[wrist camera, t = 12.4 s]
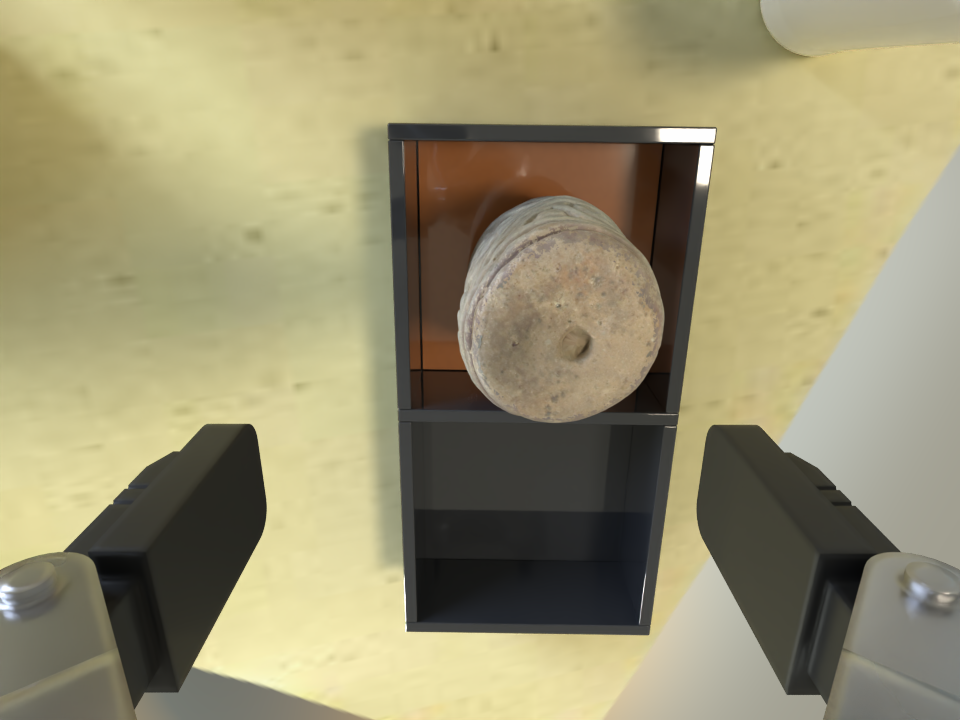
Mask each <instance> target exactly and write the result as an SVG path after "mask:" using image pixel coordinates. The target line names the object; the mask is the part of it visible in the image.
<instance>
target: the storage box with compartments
mask: <svg viewBox="0 0 960 720" xmlns="http://www.w3.org/2000/svg"><path fill="white" fill-rule="evenodd" d="M716 132H717V128H716V127H667V126H590V125H512V124H435V123H388V139H389V141H388V155H389V183H390V210H391V238H392V265H393V293H394V321H395V348H396V376H397V403H398V421H399V422H398V430H399V457H400V485H401V512H402V540H403V568H404V595H405V621H406V631H407V632H466V633H534V634H602V635H649V633H650V625H651V618H652V611H653V603H654V596H655V588H656V581H657V573H658V566H659V558H660V551H661V543H662V536H663V528H664V521H665V514H666V506H667V499H668V491H669V484H670V476H671V469H672V461H673V454H674V446H675V439H676V431H677V424H678V416H679V414H678V413H679V409H680V401H681V394H682V386H683V379H684V371H685V364H686V356H687V349H688V341H689V334H690V327H691V319H692V312H693V304H694V297H695V289H696V282H697V274H698V267H699V259H700V252H701V244H702V237H703V229H704V222H705V214H706V207H707V199H708V192H709V184H710V177H711V169H712V162H713V154H714V147H715V146H714V145H713V144H714V143H715V140H716ZM563 195H566V196H572V197H575V198H578V199H581V200H583V201H586V202H588V203H590V204H592V205H593V206H595V207H597V208H598V209H600V210H601V211H603V212H604V213H605V214H606V215H608V216H609V217H610V218H611V219H612V220H613V221H614V223H615V224H616V225H617V226H618V227H619V229H620V230H621V232H622V233H623V234H624V235H625V237H626V238H627V239H628V240H629V241H630V242H631V243H632V244H633V245H634V246H635V247H636V248H637V249H638V250H639V251H640V252H641V253H642V254H643V255H644V256H645V258H646V259H647V261H648V263H649V264H650V266H651V269H652V271H653V273H654V276H655V278H656V281H657V284H658V287H659V291H660V296H661V299H662V303H663V308H664V327H663V335H662V341H661V346H660V348H659V350H658V354H657V357H656V359H655V361H654V363H653V364H652V366H651V368H650V370H649V371H648V373H647V375H646V376H645V378H644V380H643V381H642V382H641V384H640V385H639V386H638V387H637V388H636V389H635V390H634V391H633V392H632V393H631V394H629V395H628V396H627V397H625V398H624V399H623V400H621V401H620V402H618V403H617V404H615V405H613V406H611V407H610V408H608V409H606V410H604V411H602V412H600V413H598V414H595V415H593V416H590V417H587V418H584V419H581V420H577V421H571V422H562V423H548V422H539V421H533V420H530V419H527V418H524V417H522V416H517V415H514V414H511V413H508V412H507V411H505V410H503V409H501V408H499V407H498V406H496V405H495V404H493V403H492V402H491V401H490V400H489V399H488V398H487V397H486V396H485V395H484V394H483V393H482V392H481V390H480V389H479V388H478V387H477V386H476V385H475V384H474V382H473V381H472V379H471V377H470V375H469V373H468V371H467V369H466V366H465V363H464V361H463V359H462V356H461V353H460V347H459V340H458V331H459V327H458V317H457V315H458V311H459V310H460V301H461V298H462V296H463V294H464V287H465V281H466V277H467V271H468V265H469V262H470V258H471V255H472V253H473V251H474V248H475V246H476V244H477V242H478V240H479V239H480V237H481V235H482V234H483V232H484V231H485V230H486V228H487V227H488V226H489V225H490V224H491V223H492V222H493V221H494V220H495V219H497V218H498V217H499V216H500V215H502V214H503V213H505V212H506V211H508V210H510V209H512V208H514V207H515V206H517V205H519V204H522V203H524V202H526V201H528V200H530V199H533V198H537V197H543V196H563Z"/></svg>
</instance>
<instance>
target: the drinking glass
mask: <svg viewBox="0 0 960 720" xmlns="http://www.w3.org/2000/svg"><path fill="white" fill-rule="evenodd" d="M760 8H761V13H762V17H763V20H764V23H765V25H766V27H767V29H768V31H769V33H770V34H771V36H772V37H773V38H774V39H775V40H776V42H778V43H779V44H780V45H781V46H782V47H784V48H785V49H787V50H789V51H791V52H793V53H796V54H799V55H803V56H812V57H817V56H826V55H832V54H836V53H840V52H845V51H856V50H868V49H881V48H895V47H910V46H926V45H941V44H957V43H960V0H760Z"/></svg>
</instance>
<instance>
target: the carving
mask: <svg viewBox="0 0 960 720" xmlns="http://www.w3.org/2000/svg"><path fill="white" fill-rule="evenodd" d="M457 317H458V327H459V331H458V340H459V347H460V353H461V356H462V359H463V361H464V363H465V366H466V369H467V371H468V373H469V375H470V377H471V379H472V381H473V382H474V384H475V385H476V386H477V387H478V388H479V389H480V390H481V392H482V393H483V394H484V395H485V396H486V397H487V398H488V399H489V400H490V401H491V402H492V403H493V404H495V405H496V406H498V407H499V408H501V409H503V410H505V411H507V412H508V413H511V414H514V415H517V416H522V417H524V418H527V419H530V420H533V421H539V422H548V423H562V422H571V421H577V420H581V419H584V418H587V417H590V416H593V415H595V414H598V413H600V412H602V411H604V410H606V409H608V408H610V407H611V406H613V405H615V404H617V403H618V402H620V401H621V400H623V399H624V398H625V397H627V396H628V395H629V394H631V393H632V392H633V391H634V390H635V389H636V388H637V387H638V386H639V385H640V384H641V382H642V381H643V380H644V378H645V376H646V375H647V373H648V371H649V370H650V368H651V366H652V364H653V363H654V361H655V359H656V357H657V354H658V350H659V348H660V346H661V341H662V335H663V327H664V308H663V303H662V299H661V296H660V291H659V287H658V284H657V281H656V278H655V276H654V273H653V271H652V269H651V266H650V264H649V263H648V261H647V259H646V258H645V256H644V255H643V254H642V253H641V252H640V251H639V250H638V249H637V248H636V247H635V246H634V245H633V244H632V243H631V242H630V241H629V240H628V239H627V238H626V237H625V235H624V234H623V233H622V232H621V230H620V229H619V227H618V226H617V225H616V224H615V223H614V221H613V220H612V219H611V218H610V217H609V216H608V215H606V214H605V213H604V212H603V211H601V210H600V209H598V208H597V207H595V206H593V205H592V204H590V203H588V202H586V201H583V200H581V199H578V198H575V197H572V196H566V195H563V196H543V197H537V198H533V199H530V200H528V201H526V202H524V203H522V204H519V205H517V206H515V207H514V208H512V209H510V210H508V211H506V212H505V213H503V214H502V215H500V216H499V217H498V218H497V219H495V220H494V221H493V222H492V223H491V224H490V225H489V226H488V227H487V228H486V230H485V231H484V232H483V234H482V235H481V237H480V239H479V240H478V242H477V244H476V246H475V248H474V251H473V253H472V255H471V258H470V262H469V265H468V271H467V277H466V281H465V287H464V294H463V296H462V298H461V301H460V310H459V311H458V315H457Z"/></svg>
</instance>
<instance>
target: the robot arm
mask: <svg viewBox="0 0 960 720" xmlns="http://www.w3.org/2000/svg"><path fill="white" fill-rule="evenodd" d="M128 486H129V487H128V489H124V490H123V491H122V492H121V493H120V494H119V495H118V496H117V497H116V498H115V499H114V500H113V501H114V503H113V504H110V505H109V506H108V507H107V508H106V509H105V510H104V511H103V512H102V513H101V514H100V515H99V516H98V517H97V518H96V519H95V520H94V521H93V522H92V523H91V524H90V525H89V526H88V527H87V528H86V529H85V530H84V531H83V532H82V533H81V534H80V535H79V536H78V537H77V538H76V539H75V540H74V541H73V542H72V543H71V544H70V545H69V546H68V547H67V548H66V549H65V550H64V551H63V552H57V553H49V554H44V555H39V556H35V557H32V558H28V559H25V560H22V561H19V562H17V563H14V564H12V565H10V566H7V567H5V568H3V569H1V570H0V720H137V718H136V715H135V711H134V709H135V708H136V706H137V704H138V702H139V701H140V699H141V698H142V696H143V694H144V692H179V690H180V688H181V686H182V684H183V682H184V680H185V679H186V677H187V675H188V673H189V671H190V669H191V667H192V665H193V664H194V662H195V660H196V658H197V656H198V654H199V652H200V650H201V649H202V647H203V645H204V643H205V641H206V639H207V637H208V635H209V634H210V632H211V630H212V628H213V626H214V624H215V622H216V620H217V619H218V617H219V615H220V613H221V611H222V609H223V607H224V605H225V604H226V602H227V600H228V598H229V596H230V594H231V592H232V590H233V589H234V587H235V585H236V583H237V581H238V579H239V577H240V575H241V574H242V572H243V570H244V568H245V566H246V564H247V562H248V560H249V559H250V557H251V555H252V553H253V551H254V549H255V547H256V545H257V544H258V542H259V540H260V538H261V536H262V533H263V530H264V526H265V521H266V511H267V505H266V495H265V488H264V481H263V474H262V467H261V460H260V453H259V446H258V439H257V434H256V431H255V429H254V427H253V426H252V425H251V424H206V425H204V426H203V427H202V428H201V429H200V430H199V431H198V432H197V434H196V435H195V436H194V437H193V438H192V439H191V440H190V441H189V442H188V443H187V444H186V445H185V447H184V448H183V449H182V450H181V451H180V452H172V453H170V454H168V455H167V456H165V457H163V458H161V459H160V460H158V461H156V462H154V463H153V464H151V465H149V466H147V467H146V468H145V469H144V470H143V471H142V472H141V473H140V474H139V475H138V476H137V477H136V478H135V479H134V480H133V481H132V482H131V483H130V484H129V485H128ZM697 520H698V526H699V530H700V533H701V536H702V538H703V540H704V542H705V544H706V546H707V548H708V550H709V552H710V553H711V555H712V557H713V559H714V561H715V563H716V564H717V566H718V568H719V570H720V572H721V574H722V576H723V577H724V579H725V581H726V583H727V585H728V587H729V589H730V590H731V592H732V594H733V596H734V598H735V600H736V601H737V603H738V605H739V607H740V609H741V611H742V613H743V614H744V616H745V618H746V620H747V622H748V624H749V626H750V627H751V629H752V631H753V633H754V635H755V637H756V638H757V640H758V642H759V644H760V646H761V648H762V650H763V651H764V653H765V655H766V657H767V659H768V661H769V663H770V664H771V666H772V668H773V670H774V672H775V674H776V675H777V677H778V679H779V681H780V683H781V685H782V687H783V688H784V690H785V692H786V694H787V695H821V696H822V698H823V699H824V701H825V703H826V704H827V707H826V711H825V715H824V718H823V720H960V570H959V569H957V568H955V567H953V566H950V565H948V564H946V563H943V562H940V561H938V560H935V559H932V558H928V557H925V556H921V555H916V554H911V553H903V552H900V551H899V550H898V549H897V548H896V547H895V546H894V545H893V544H892V543H891V542H890V541H889V540H888V539H887V538H886V537H885V536H884V535H883V534H882V532H881V531H880V530H879V529H877V527H876V526H875V525H874V524H873V523H872V522H871V521H870V520H869V519H868V518H867V517H866V516H865V515H864V514H863V513H862V512H861V511H860V510H859V509H858V508H857V507H856V506H852V505H851V501H850V500H849V499H848V498H847V497H846V496H845V495H844V494H843V493H842V492H841V491H840V490H836V486H835V485H834V484H833V483H832V482H831V481H830V480H829V479H828V478H827V477H826V476H825V475H824V474H823V473H822V472H821V471H820V470H819V469H818V468H817V467H815V466H813V465H811V464H810V463H808V462H806V461H804V460H803V459H801V458H799V457H797V456H795V455H794V454H792V453H784V452H783V451H782V450H781V449H780V448H779V446H778V445H777V444H776V443H775V442H774V441H773V440H772V439H771V438H770V437H769V436H768V435H767V434H766V433H765V431H764V430H763V429H762V428H761V427H759V426H758V425H713V426H711V427H710V429H709V431H708V433H707V437H706V443H705V450H704V457H703V463H702V470H701V477H700V484H699V491H698V498H697Z"/></svg>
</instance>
